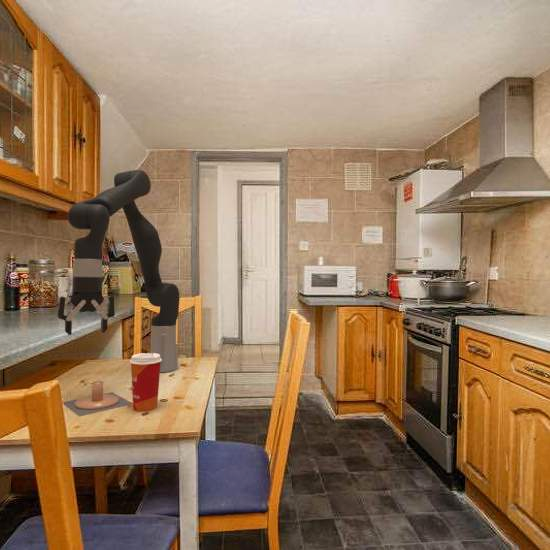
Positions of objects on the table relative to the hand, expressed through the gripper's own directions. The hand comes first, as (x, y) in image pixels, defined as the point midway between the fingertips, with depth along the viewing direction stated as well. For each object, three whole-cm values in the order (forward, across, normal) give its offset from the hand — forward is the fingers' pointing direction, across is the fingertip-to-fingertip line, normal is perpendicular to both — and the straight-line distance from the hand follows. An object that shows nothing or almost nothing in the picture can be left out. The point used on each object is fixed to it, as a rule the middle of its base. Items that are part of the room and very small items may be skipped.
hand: (86, 333), depth 109 cm
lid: (+19, -3, +3) cm, 19 cm away
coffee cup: (+20, -12, +14) cm, 27 cm away
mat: (+20, -3, +3) cm, 20 cm away
